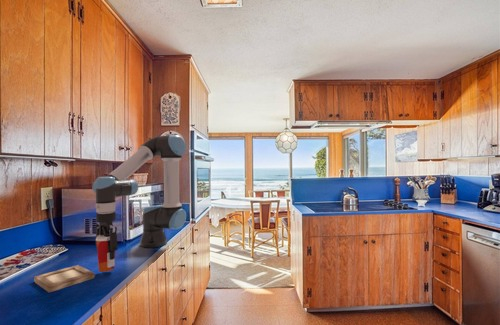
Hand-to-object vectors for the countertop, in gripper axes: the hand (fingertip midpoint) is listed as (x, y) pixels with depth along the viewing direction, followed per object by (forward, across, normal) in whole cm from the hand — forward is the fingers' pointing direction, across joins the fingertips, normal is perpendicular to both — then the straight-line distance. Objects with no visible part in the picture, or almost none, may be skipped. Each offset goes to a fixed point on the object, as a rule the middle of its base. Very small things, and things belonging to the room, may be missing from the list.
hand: (106, 264), depth 118 cm
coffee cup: (+2, 0, 0) cm, 2 cm away
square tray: (+4, -7, -14) cm, 16 cm away
